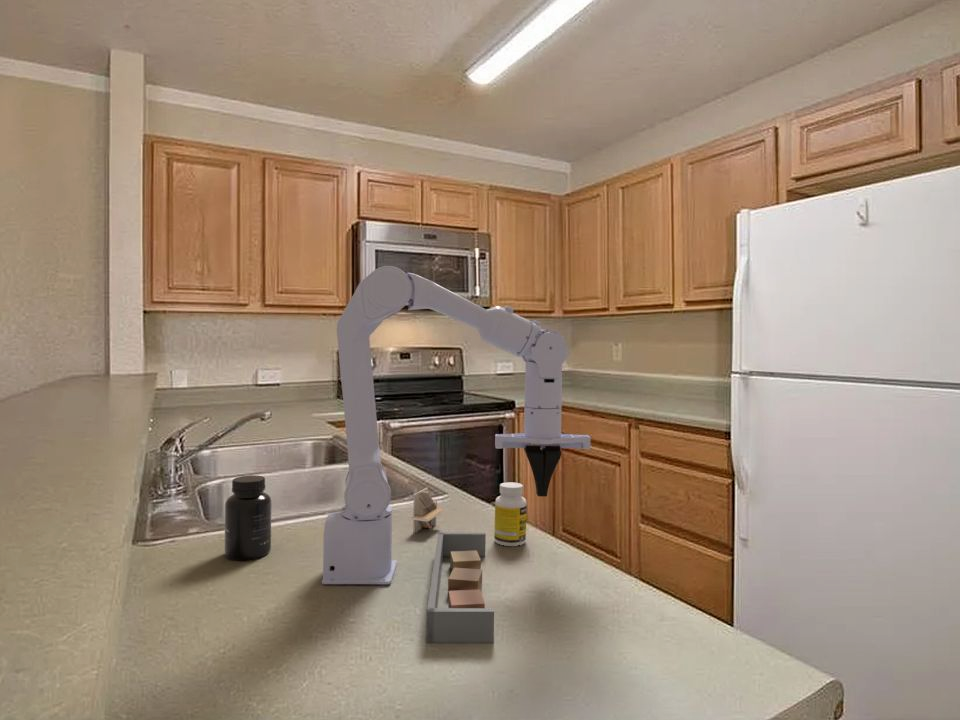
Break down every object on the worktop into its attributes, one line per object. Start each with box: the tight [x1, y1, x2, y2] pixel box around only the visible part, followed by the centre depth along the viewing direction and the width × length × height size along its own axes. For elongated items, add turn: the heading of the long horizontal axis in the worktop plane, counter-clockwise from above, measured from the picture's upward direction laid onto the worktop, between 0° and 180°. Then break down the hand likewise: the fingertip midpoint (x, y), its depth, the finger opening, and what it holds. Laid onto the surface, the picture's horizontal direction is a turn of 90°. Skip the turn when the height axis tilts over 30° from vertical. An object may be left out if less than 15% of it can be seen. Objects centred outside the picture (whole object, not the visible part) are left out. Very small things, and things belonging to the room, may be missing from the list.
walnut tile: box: [447, 568, 483, 597], centre depth 76 cm, size 4×4×2 cm
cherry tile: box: [447, 589, 486, 608], centre depth 69 cm, size 4×4×2 cm
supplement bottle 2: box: [493, 481, 528, 547], centre depth 96 cm, size 5×5×10 cm
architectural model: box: [411, 487, 445, 534], centre depth 101 cm, size 3×7×7 cm, turn 160°
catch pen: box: [426, 532, 495, 644], centre depth 76 cm, size 8×27×4 cm, turn 2°
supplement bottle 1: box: [224, 474, 272, 562], centre depth 88 cm, size 7×7×12 cm
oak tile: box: [449, 550, 482, 572], centre depth 83 cm, size 4×4×2 cm
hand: (541, 494), depth 87 cm, fingers closed
